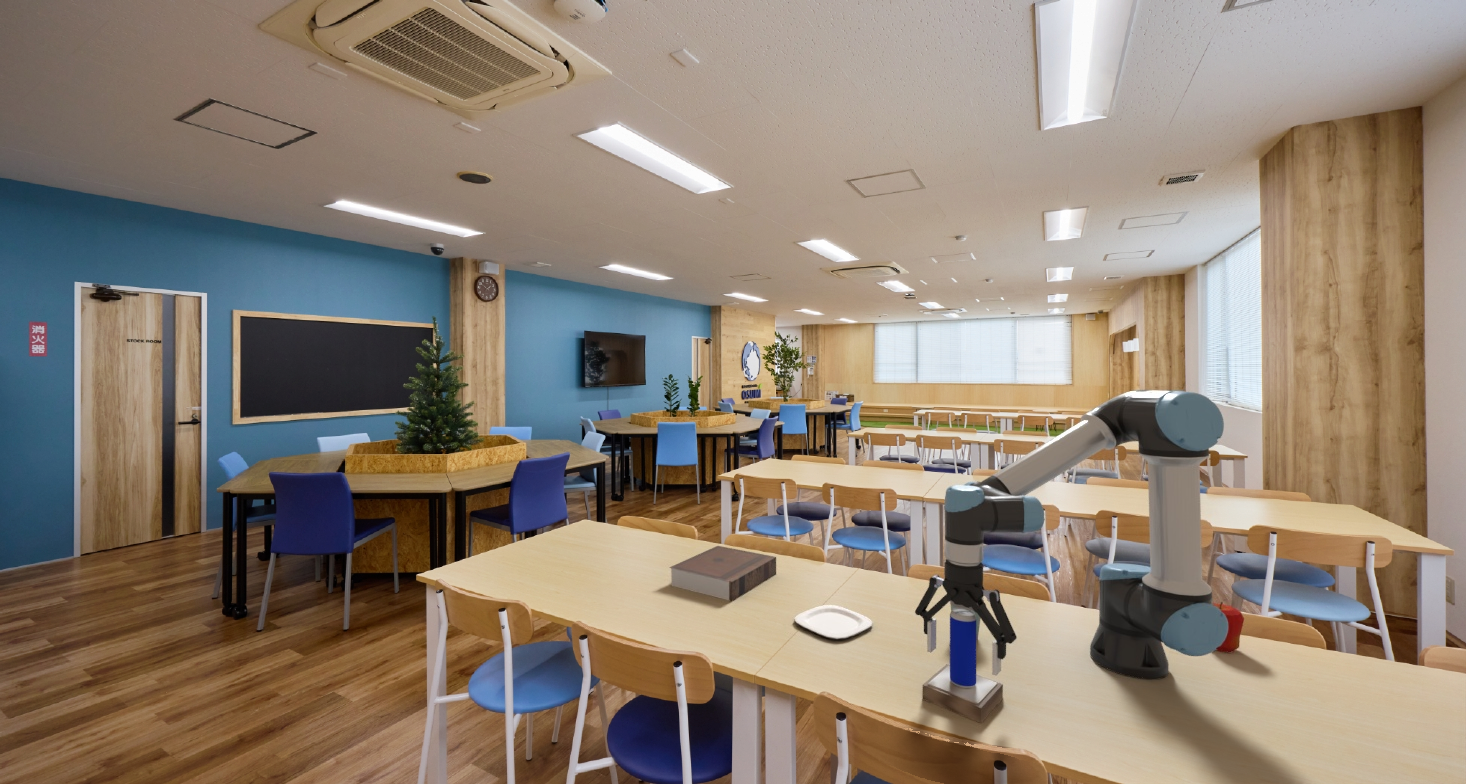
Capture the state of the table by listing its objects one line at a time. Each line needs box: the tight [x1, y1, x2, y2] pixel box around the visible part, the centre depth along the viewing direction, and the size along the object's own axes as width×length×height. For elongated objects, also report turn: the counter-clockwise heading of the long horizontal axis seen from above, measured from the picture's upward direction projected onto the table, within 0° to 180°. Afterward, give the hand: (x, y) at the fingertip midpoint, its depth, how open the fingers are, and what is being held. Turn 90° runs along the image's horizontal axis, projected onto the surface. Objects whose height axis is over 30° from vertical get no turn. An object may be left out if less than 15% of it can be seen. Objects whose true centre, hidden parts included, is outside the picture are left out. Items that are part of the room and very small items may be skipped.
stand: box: [921, 664, 1004, 724], centre depth 118 cm, size 12×12×3 cm
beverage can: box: [949, 608, 977, 688], centre depth 118 cm, size 5×5×15 cm
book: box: [668, 545, 777, 602], centre depth 188 cm, size 24×28×7 cm
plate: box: [793, 604, 874, 640], centre depth 154 cm, size 18×18×2 cm
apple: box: [1212, 601, 1245, 653], centre depth 140 cm, size 9×8×12 cm
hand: (962, 661), depth 118 cm, fingers open, 13 cm apart
